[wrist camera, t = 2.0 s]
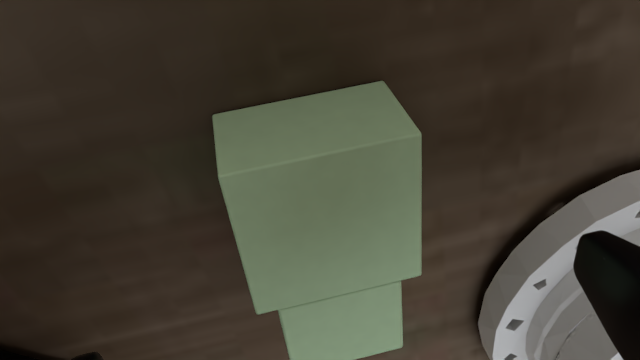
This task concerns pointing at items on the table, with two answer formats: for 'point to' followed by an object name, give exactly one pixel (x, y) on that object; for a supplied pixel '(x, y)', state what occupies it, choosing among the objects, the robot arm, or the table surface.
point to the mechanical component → (557, 282)
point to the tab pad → (326, 215)
